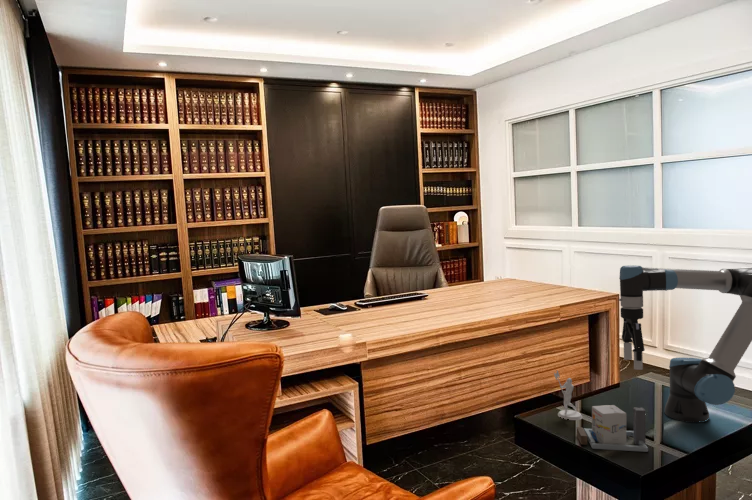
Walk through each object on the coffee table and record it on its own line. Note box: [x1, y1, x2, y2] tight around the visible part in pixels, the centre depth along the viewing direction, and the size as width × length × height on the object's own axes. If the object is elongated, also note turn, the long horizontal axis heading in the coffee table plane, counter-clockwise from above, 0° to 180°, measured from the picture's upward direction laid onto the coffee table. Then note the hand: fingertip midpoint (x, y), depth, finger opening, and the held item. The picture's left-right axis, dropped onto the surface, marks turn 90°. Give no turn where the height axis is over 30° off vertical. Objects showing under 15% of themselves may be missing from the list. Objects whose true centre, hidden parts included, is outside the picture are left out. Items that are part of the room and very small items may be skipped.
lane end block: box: [576, 426, 588, 446], centre depth 183 cm, size 2×8×3 cm, turn 169°
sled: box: [583, 406, 649, 453], centre depth 180 cm, size 18×14×12 cm
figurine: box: [553, 370, 584, 421], centre depth 206 cm, size 10×10×18 cm
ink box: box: [591, 404, 627, 445], centre depth 181 cm, size 9×8×12 cm
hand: (633, 364), depth 190 cm, fingers open, 13 cm apart
